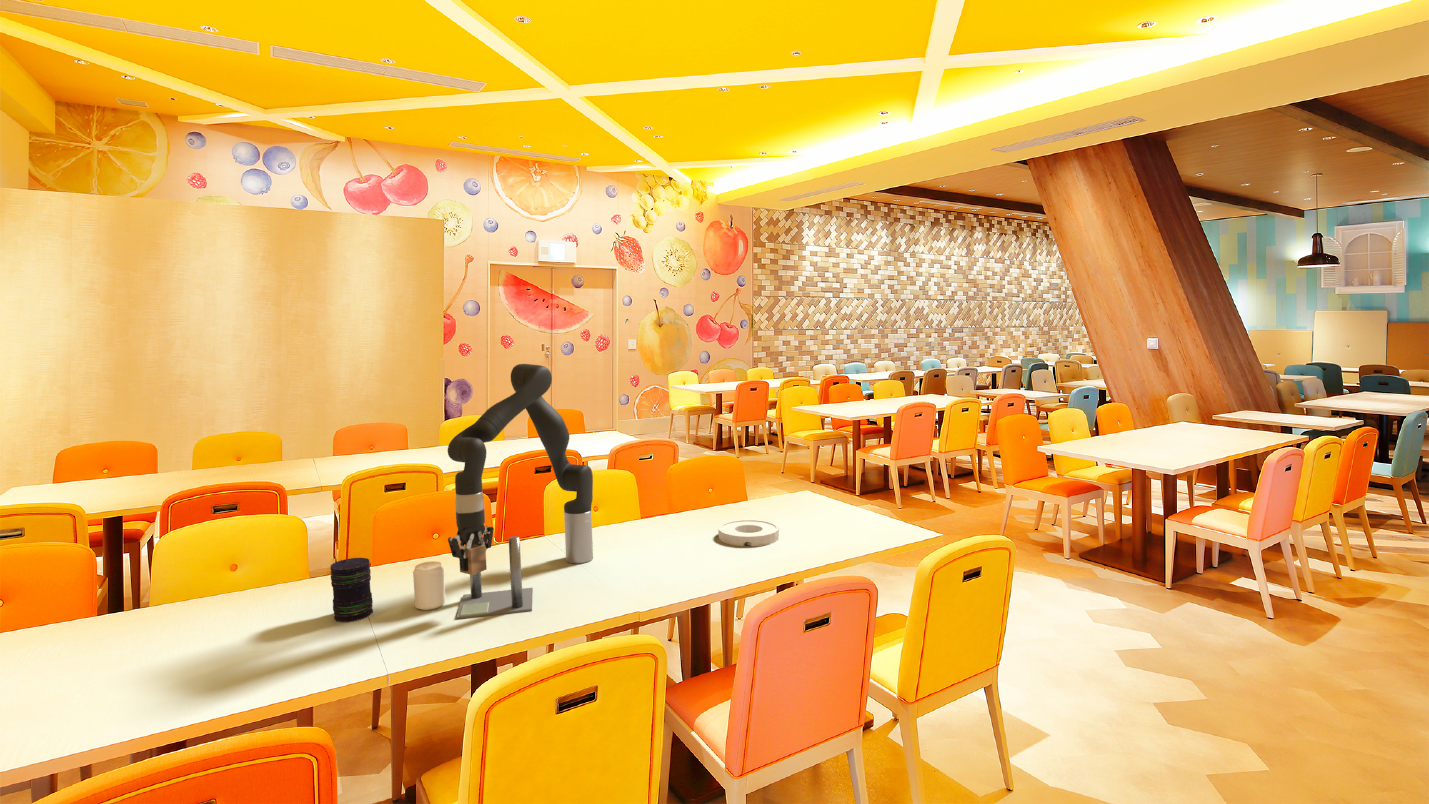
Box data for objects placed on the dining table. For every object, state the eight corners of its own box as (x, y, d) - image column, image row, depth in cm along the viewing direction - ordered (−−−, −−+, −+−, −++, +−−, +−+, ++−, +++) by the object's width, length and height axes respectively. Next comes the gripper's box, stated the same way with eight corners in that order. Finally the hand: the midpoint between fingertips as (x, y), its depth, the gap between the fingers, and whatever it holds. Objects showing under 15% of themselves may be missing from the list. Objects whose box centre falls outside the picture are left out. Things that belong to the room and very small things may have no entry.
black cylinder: (380, 612, 192) (377, 560, 190) (347, 625, 183) (343, 571, 182) (359, 605, 197) (356, 555, 195) (326, 617, 188) (322, 565, 187)
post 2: (512, 605, 194) (508, 536, 192) (523, 603, 194) (519, 535, 193) (511, 609, 191) (508, 539, 189) (522, 607, 192) (519, 538, 190)
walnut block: (474, 566, 193) (473, 542, 193) (486, 569, 191) (485, 545, 190) (460, 572, 189) (458, 547, 188) (471, 575, 186) (470, 550, 186)
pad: (463, 606, 193) (463, 605, 193) (488, 603, 195) (488, 602, 195) (461, 615, 187) (460, 614, 187) (486, 613, 188) (486, 611, 188)
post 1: (471, 595, 201) (468, 529, 200) (482, 594, 202) (479, 529, 200) (470, 599, 199) (467, 532, 197) (481, 598, 199) (478, 531, 197)
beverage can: (451, 601, 199) (449, 561, 198) (433, 612, 191) (430, 571, 190) (428, 599, 201) (425, 559, 200) (409, 609, 193) (406, 569, 192)
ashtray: (750, 525, 274) (750, 516, 274) (792, 538, 256) (791, 528, 256) (706, 537, 259) (705, 527, 259) (746, 551, 242) (746, 540, 241)
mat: (463, 596, 202) (463, 593, 202) (532, 589, 207) (532, 586, 207) (456, 619, 186) (456, 615, 186) (531, 610, 191) (531, 607, 191)
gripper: (481, 501, 196) (484, 558, 198) (439, 512, 184) (442, 573, 186) (499, 504, 192) (502, 562, 194) (457, 516, 180) (460, 578, 182)
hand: (473, 567), depth 190 cm, fingers closed on walnut block, 5 cm apart
